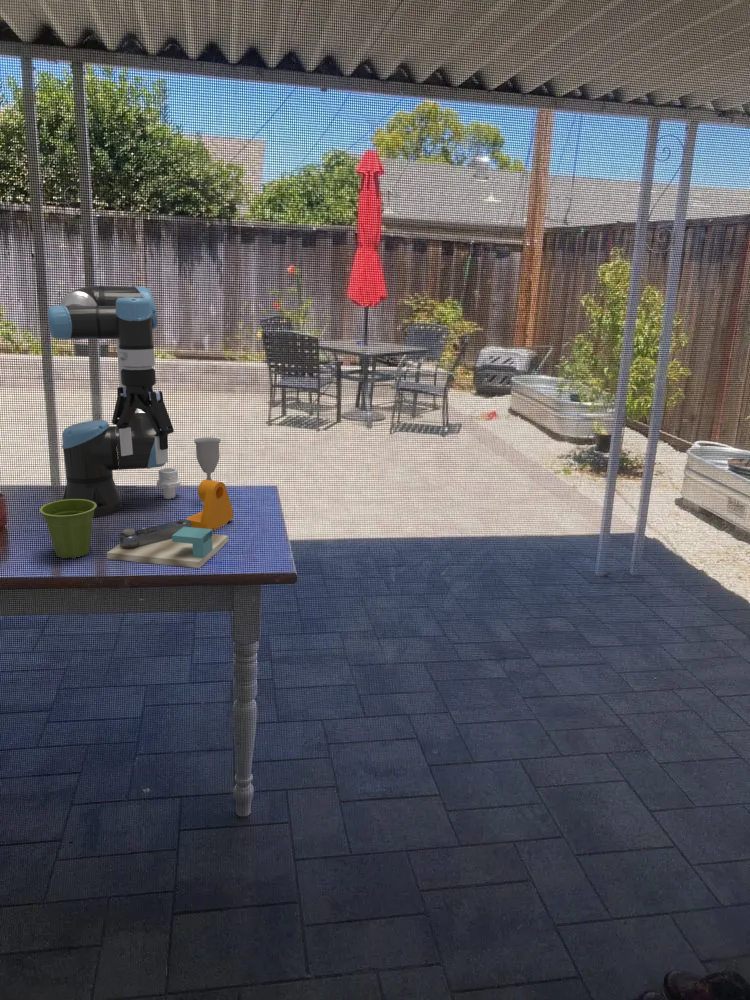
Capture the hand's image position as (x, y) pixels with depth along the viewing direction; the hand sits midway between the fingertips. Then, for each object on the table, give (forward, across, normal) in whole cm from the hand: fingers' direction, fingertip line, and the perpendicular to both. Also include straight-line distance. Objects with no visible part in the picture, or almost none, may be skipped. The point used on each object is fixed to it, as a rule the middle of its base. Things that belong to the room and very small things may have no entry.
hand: (144, 459), depth 175 cm
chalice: (+19, -10, +28) cm, 35 cm away
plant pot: (+20, -4, -18) cm, 27 cm away
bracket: (+20, +3, +16) cm, 25 cm away
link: (+18, +5, -2) cm, 19 cm away
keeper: (+19, +18, -2) cm, 26 cm away
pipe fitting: (+18, -23, +24) cm, 38 cm away
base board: (+20, +10, -2) cm, 22 cm away
